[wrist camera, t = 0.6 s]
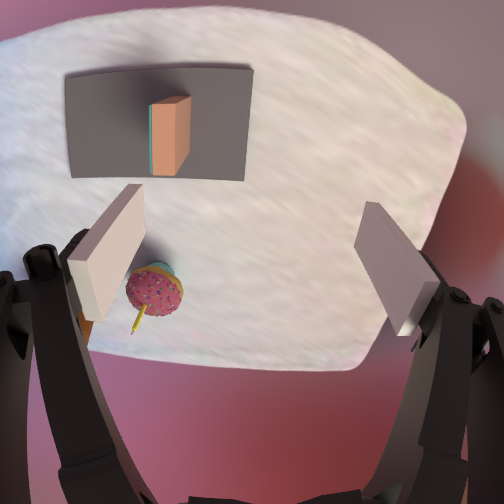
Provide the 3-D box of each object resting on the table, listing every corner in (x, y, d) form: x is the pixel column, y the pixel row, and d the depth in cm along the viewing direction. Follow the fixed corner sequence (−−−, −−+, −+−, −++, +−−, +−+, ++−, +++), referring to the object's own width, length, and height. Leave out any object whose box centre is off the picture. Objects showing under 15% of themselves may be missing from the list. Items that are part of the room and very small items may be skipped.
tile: (169, 151, 36) (149, 175, 28) (170, 96, 32) (148, 104, 25) (189, 151, 36) (174, 175, 29) (191, 96, 32) (175, 103, 25)
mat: (74, 175, 38) (71, 178, 37) (68, 78, 30) (65, 79, 29) (244, 178, 39) (244, 181, 38) (253, 70, 32) (253, 70, 31)
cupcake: (159, 301, 50) (143, 357, 40) (123, 267, 46) (98, 320, 36) (197, 278, 48) (187, 336, 38) (160, 240, 44) (139, 294, 34)
